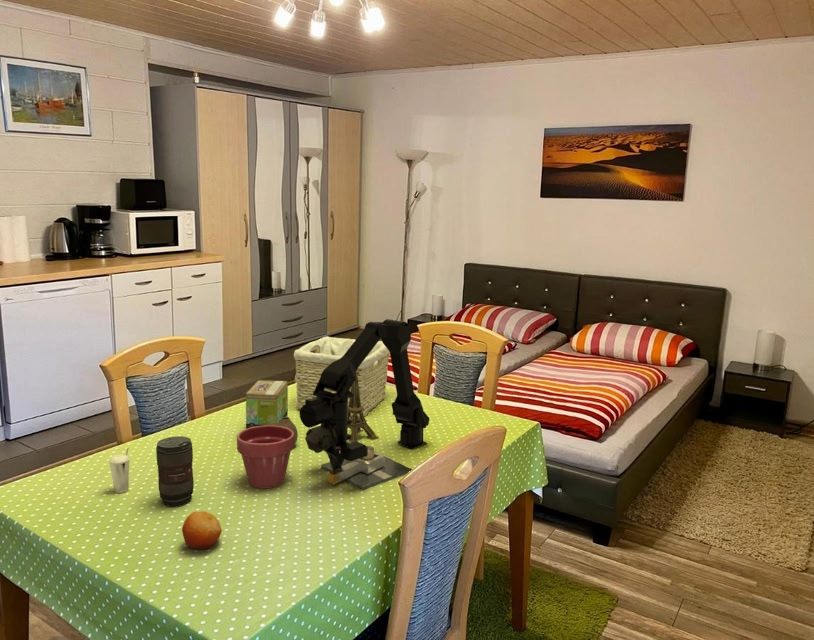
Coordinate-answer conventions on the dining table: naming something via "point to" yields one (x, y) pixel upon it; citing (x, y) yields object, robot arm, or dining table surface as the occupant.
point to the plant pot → (265, 454)
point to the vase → (289, 426)
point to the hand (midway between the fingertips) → (335, 473)
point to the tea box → (266, 403)
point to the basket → (334, 349)
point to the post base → (375, 477)
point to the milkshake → (120, 472)
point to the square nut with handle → (356, 468)
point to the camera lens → (175, 470)
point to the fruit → (201, 530)
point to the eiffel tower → (355, 409)
